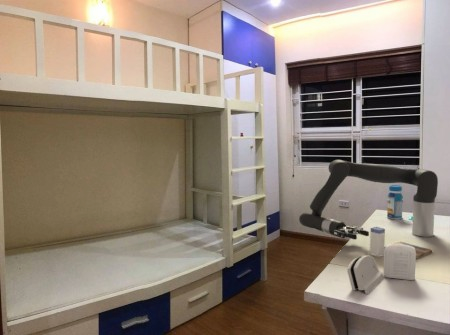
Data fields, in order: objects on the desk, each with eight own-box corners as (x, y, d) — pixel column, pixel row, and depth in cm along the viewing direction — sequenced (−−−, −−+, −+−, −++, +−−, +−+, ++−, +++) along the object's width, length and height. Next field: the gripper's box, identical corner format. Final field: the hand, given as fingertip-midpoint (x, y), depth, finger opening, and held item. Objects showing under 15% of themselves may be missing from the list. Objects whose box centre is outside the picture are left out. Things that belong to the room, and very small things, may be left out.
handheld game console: (433, 217, 200) (433, 215, 200) (427, 223, 188) (427, 220, 188) (415, 215, 207) (415, 213, 207) (408, 220, 195) (408, 218, 195)
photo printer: (413, 276, 118) (414, 243, 117) (416, 281, 114) (417, 247, 113) (382, 273, 121) (383, 241, 120) (384, 278, 117) (385, 244, 116)
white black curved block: (367, 294, 106) (357, 264, 107) (353, 295, 109) (343, 265, 110) (384, 277, 117) (375, 250, 119) (371, 278, 121) (363, 252, 122)
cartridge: (375, 252, 143) (376, 226, 142) (384, 254, 140) (384, 228, 138) (369, 254, 141) (370, 228, 140) (378, 256, 138) (379, 230, 136)
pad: (400, 243, 153) (400, 241, 153) (432, 252, 141) (432, 249, 141) (382, 249, 146) (382, 247, 145) (414, 259, 134) (414, 256, 133)
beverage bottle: (401, 220, 194) (402, 187, 192) (386, 218, 198) (386, 186, 196) (402, 217, 201) (404, 185, 199) (387, 215, 205) (388, 184, 203)
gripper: (323, 222, 156) (352, 230, 142) (343, 217, 163) (372, 224, 149) (323, 237, 156) (351, 246, 143) (343, 232, 164) (372, 240, 150)
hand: (362, 235), depth 146 cm, fingers open, 8 cm apart
